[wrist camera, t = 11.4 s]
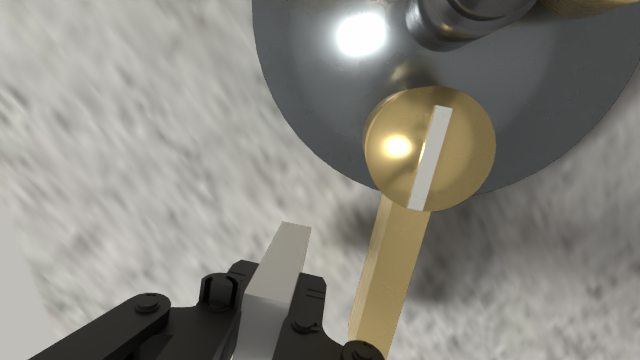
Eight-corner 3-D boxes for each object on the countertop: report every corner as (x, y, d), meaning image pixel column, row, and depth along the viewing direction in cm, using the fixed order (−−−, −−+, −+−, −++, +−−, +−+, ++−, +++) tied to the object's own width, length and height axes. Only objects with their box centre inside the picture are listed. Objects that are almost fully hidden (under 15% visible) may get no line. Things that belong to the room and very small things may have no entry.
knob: (375, 79, 16) (384, 73, 12) (474, 100, 16) (517, 100, 12) (320, 310, 19) (313, 366, 15) (403, 329, 19) (418, 392, 15)
